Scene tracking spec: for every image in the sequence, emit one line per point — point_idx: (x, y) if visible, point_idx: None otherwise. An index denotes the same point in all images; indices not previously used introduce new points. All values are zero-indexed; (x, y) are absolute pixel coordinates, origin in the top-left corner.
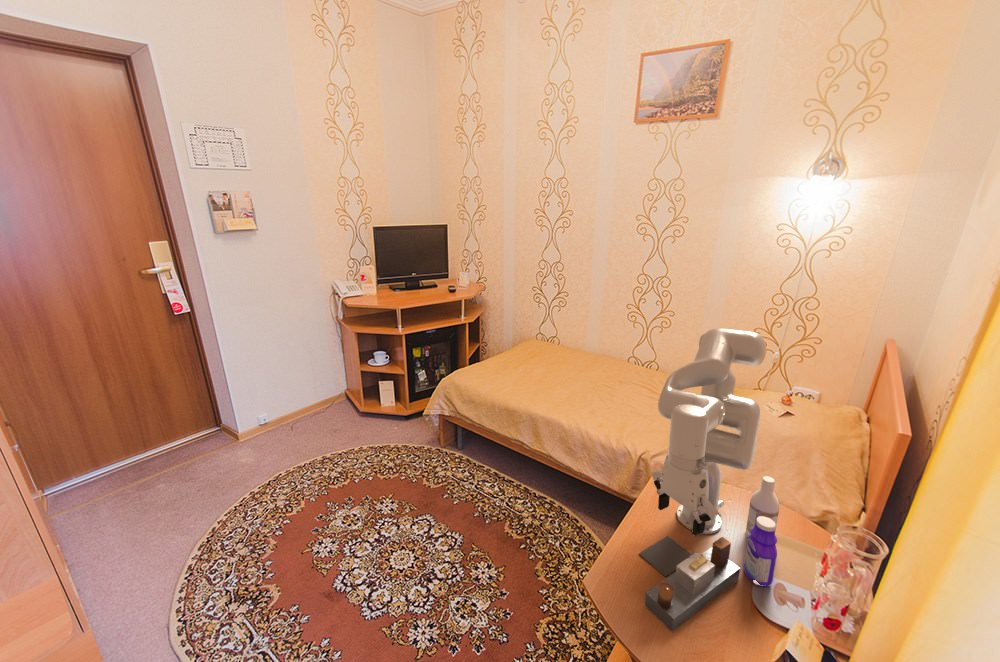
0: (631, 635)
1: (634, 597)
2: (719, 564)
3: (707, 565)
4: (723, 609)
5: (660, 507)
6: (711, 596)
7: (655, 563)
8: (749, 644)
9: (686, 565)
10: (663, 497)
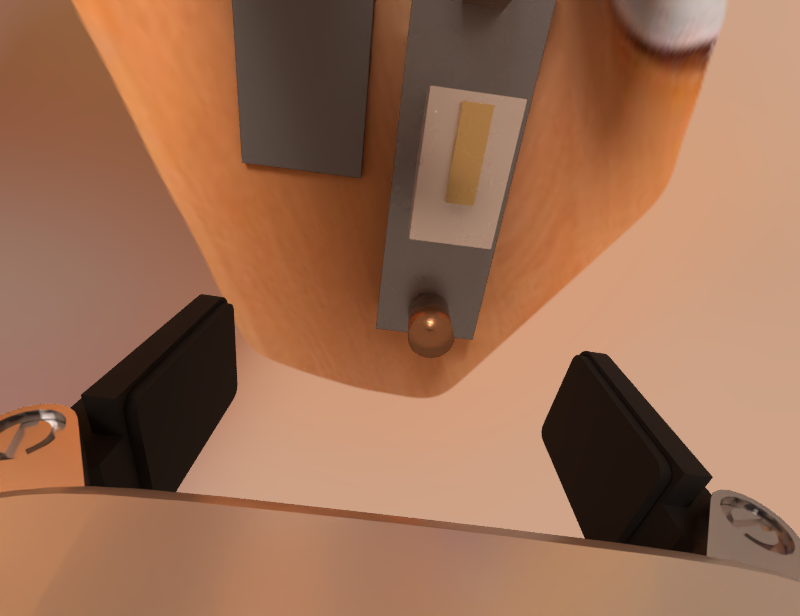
0: (405, 384)
1: (348, 306)
2: (507, 3)
3: (501, 131)
4: (543, 142)
5: (220, 413)
6: None
7: (306, 158)
8: (630, 198)
9: (435, 206)
10: (159, 485)
